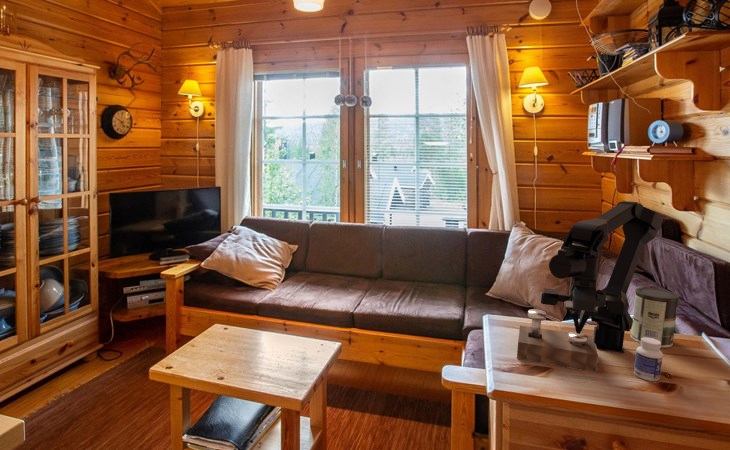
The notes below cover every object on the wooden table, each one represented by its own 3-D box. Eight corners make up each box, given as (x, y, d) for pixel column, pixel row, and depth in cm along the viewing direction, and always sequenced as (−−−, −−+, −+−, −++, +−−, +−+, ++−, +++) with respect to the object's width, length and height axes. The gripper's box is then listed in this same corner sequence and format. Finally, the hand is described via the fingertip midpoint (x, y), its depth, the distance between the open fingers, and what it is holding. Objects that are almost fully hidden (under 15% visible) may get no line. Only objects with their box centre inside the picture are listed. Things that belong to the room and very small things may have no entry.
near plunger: (584, 356, 112) (586, 333, 111) (586, 363, 108) (588, 340, 107) (565, 353, 113) (567, 330, 112) (566, 360, 109) (569, 337, 108)
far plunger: (544, 333, 115) (546, 310, 114) (544, 339, 111) (546, 316, 110) (526, 330, 116) (528, 308, 115) (526, 336, 112) (527, 313, 111)
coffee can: (662, 334, 127) (668, 288, 125) (680, 349, 117) (687, 299, 115) (624, 331, 129) (629, 286, 127) (638, 345, 119) (644, 296, 117)
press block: (590, 352, 115) (592, 336, 114) (596, 372, 104) (597, 354, 103) (518, 340, 121) (520, 325, 120) (516, 358, 110) (518, 341, 109)
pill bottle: (660, 384, 99) (665, 347, 97) (633, 377, 101) (637, 342, 100) (659, 374, 103) (663, 339, 102) (633, 368, 106) (637, 334, 105)
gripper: (543, 277, 103) (538, 338, 105) (633, 286, 96) (626, 352, 99) (543, 266, 113) (538, 323, 116) (624, 274, 106) (617, 334, 109)
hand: (578, 333), depth 109 cm, fingers closed
